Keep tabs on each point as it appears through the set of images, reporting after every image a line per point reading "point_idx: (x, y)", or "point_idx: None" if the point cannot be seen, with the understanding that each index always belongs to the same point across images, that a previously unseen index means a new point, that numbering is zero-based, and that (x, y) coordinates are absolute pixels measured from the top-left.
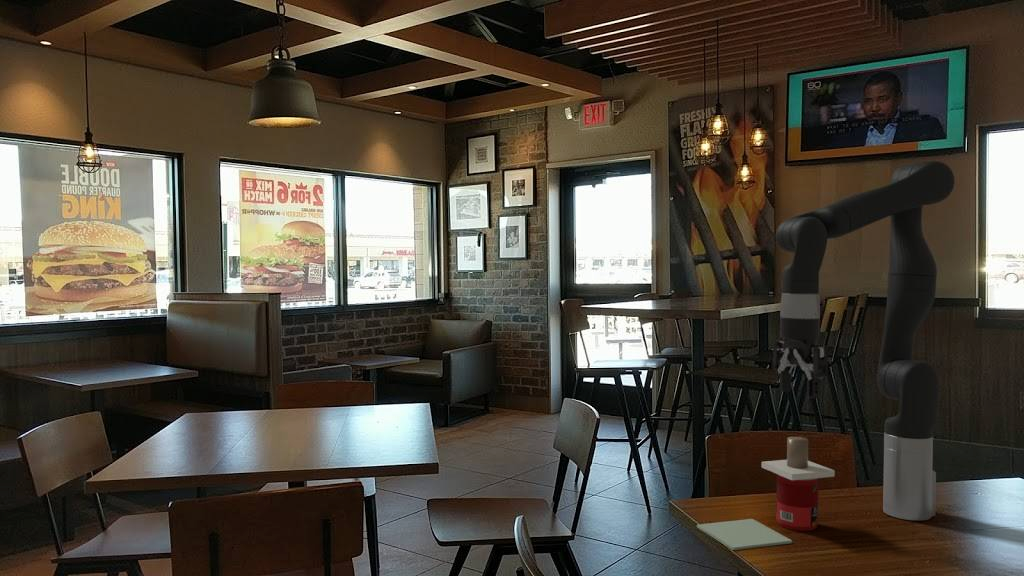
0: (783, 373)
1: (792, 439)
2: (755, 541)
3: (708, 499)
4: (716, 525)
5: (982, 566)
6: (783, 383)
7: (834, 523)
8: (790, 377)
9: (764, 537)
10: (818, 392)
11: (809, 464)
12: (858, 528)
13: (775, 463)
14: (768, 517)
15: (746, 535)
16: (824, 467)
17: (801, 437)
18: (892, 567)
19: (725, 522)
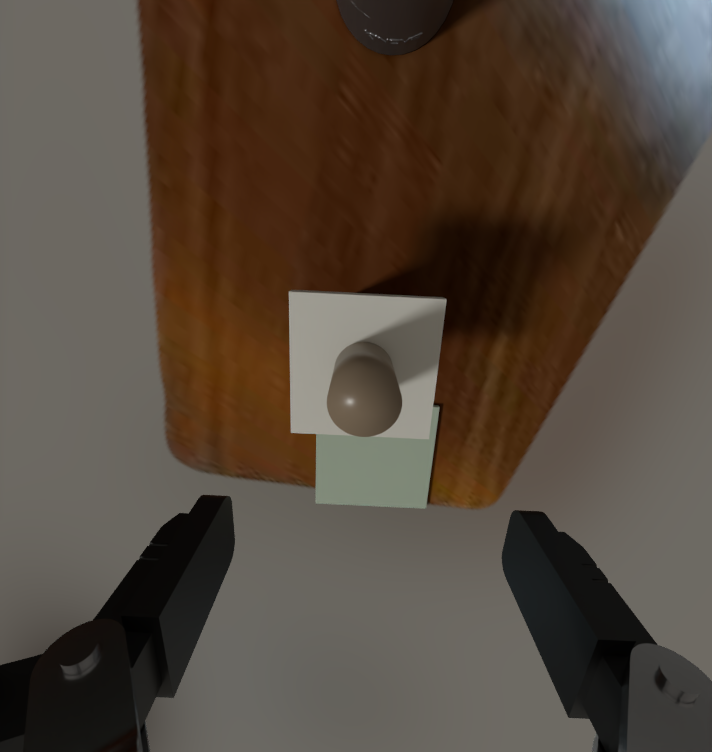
0: (156, 692)
1: (364, 425)
2: (418, 464)
3: (172, 400)
4: (329, 477)
5: (700, 140)
6: (211, 599)
7: (382, 247)
8: (178, 589)
9: (408, 440)
10: (585, 558)
11: (360, 322)
12: (427, 218)
13: (319, 409)
14: None
15: (389, 461)
16: (406, 303)
17: (348, 373)
18: (601, 322)
19: (320, 456)
